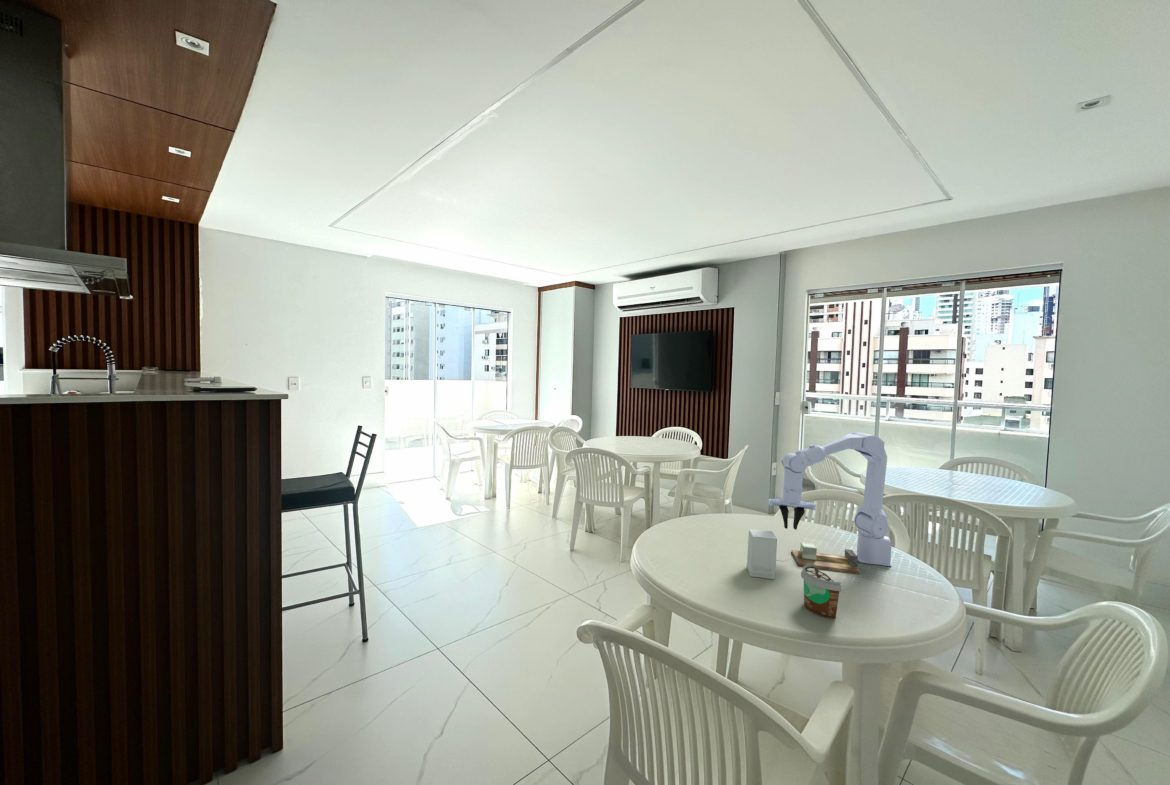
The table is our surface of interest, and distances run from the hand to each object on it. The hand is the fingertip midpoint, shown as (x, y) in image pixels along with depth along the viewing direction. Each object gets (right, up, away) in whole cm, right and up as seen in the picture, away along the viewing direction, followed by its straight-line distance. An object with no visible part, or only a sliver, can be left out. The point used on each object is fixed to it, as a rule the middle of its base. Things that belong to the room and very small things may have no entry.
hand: (790, 528), depth 153 cm
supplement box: (-15, -11, -12) cm, 22 cm away
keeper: (+5, -9, -1) cm, 11 cm away
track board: (+10, -11, -2) cm, 15 cm away
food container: (-9, -12, -33) cm, 37 cm away
